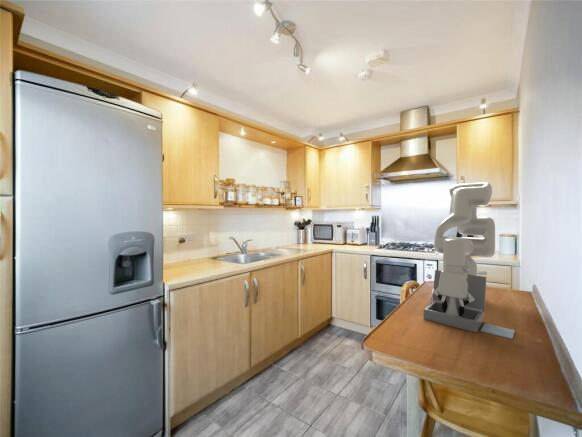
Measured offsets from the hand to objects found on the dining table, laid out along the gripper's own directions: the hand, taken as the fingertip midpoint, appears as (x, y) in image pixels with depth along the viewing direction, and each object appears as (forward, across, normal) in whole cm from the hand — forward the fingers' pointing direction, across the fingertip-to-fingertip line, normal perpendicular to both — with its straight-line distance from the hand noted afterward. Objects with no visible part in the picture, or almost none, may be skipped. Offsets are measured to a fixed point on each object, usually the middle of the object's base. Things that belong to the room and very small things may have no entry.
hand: (452, 313), depth 107 cm
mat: (+3, -14, 0) cm, 15 cm away
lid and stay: (0, 0, -6) cm, 6 cm away
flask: (+3, 0, 0) cm, 3 cm away
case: (+3, 0, 0) cm, 3 cm away
